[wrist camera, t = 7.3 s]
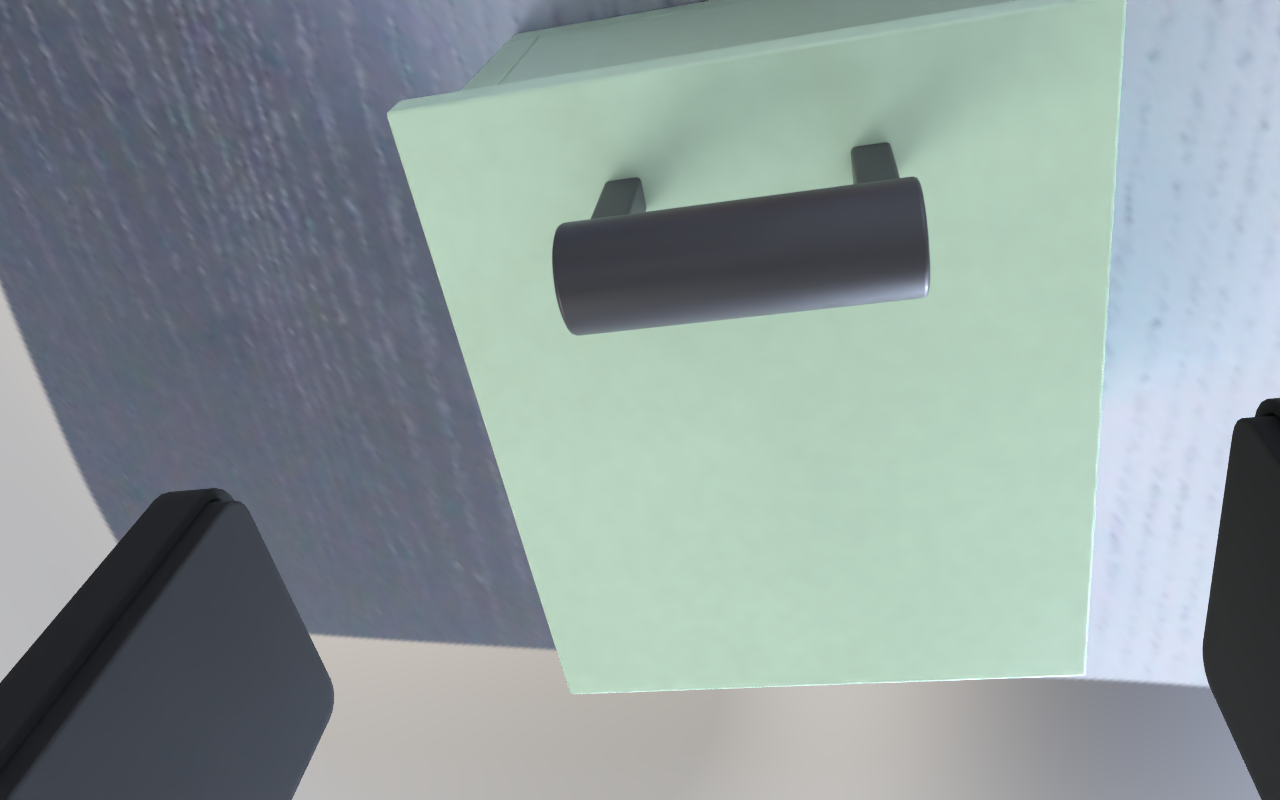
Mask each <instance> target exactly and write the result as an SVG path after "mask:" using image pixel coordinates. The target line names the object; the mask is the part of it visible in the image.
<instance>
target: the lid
mask: <svg viewBox="0 0 1280 800" xmlns="http://www.w3.org/2000/svg"><path fill="white" fill-rule="evenodd" d="M1126 3H1127V0H1017V1H1010V2H1004V3H998V4H992V5H986V6H980V7H973V8H967V9H961V10H955V11H949V12H943V13H937V14H930V15H924V16H918V17H912V18H906V19H900V20H894V21H887V22H881V23H875V24H869V25H863V26H857V27H851V28H844V29H838V30H832V31H826V32H820V33H814V34H808V35H801V36H795V37H789V38H783V39H777V40H771V41H764V42H758V43H752V44H746V45H740V46H734V47H728V48H721V49H715V50H709V51H703V52H697V53H691V54H685V55H678V56H672V57H666V58H660V59H654V60H648V61H642V62H635V63H629V64H623V65H617V66H611V67H605V68H599V69H592V70H586V71H580V72H574V73H568V74H562V75H555V76H549V77H543V78H537V79H531V80H525V81H519V82H512V83H506V84H500V85H494V86H488V87H482V88H476V89H469V90H463V91H457V92H451V93H445V94H439V95H433V96H426V97H420V98H414V99H408V100H402V101H400V102H398V103H397V104H396V105H395V106H394V107H393V108H392V109H390V110H389V111H388V112H387V117H388V120H389V123H390V127H391V130H392V133H393V136H394V139H395V142H396V145H397V149H398V152H399V155H400V158H401V161H402V164H403V168H404V171H405V174H406V177H407V180H408V183H409V186H410V190H411V193H412V196H413V199H414V202H415V205H416V209H417V212H418V215H419V218H420V221H421V224H422V227H423V231H424V234H425V237H426V240H427V243H428V246H429V250H430V253H431V256H432V259H433V262H434V265H435V268H436V272H437V275H438V278H439V281H440V284H441V287H442V291H443V294H444V297H445V300H446V303H447V306H448V309H449V313H450V316H451V319H452V322H453V325H454V328H455V332H456V335H457V338H458V341H459V344H460V347H461V350H462V354H463V357H464V360H465V363H466V366H467V369H468V373H469V376H470V379H471V382H472V385H473V388H474V391H475V395H476V398H477V401H478V404H479V407H480V410H481V414H482V417H483V420H484V423H485V426H486V429H487V432H488V436H489V439H490V442H491V445H492V448H493V451H494V455H495V458H496V461H497V464H498V467H499V470H500V473H501V477H502V480H503V483H504V486H505V489H506V492H507V496H508V499H509V502H510V505H511V508H512V511H513V514H514V518H515V521H516V524H517V527H518V530H519V533H520V537H521V540H522V543H523V546H524V549H525V552H526V555H527V559H528V562H529V565H530V568H531V571H532V574H533V578H534V581H535V584H536V587H537V590H538V593H539V596H540V600H541V603H542V606H543V609H544V612H545V615H546V619H547V622H548V625H549V628H550V631H551V634H552V637H553V641H554V644H555V647H556V650H557V653H558V656H559V660H560V663H561V666H562V669H563V672H564V675H565V678H566V682H567V685H568V688H569V691H570V693H571V694H592V693H615V692H616V693H618V692H643V691H645V692H646V691H672V690H673V691H674V690H700V689H726V688H754V687H755V688H756V687H781V686H782V687H783V686H809V685H836V684H864V683H892V682H918V681H919V682H920V681H946V680H972V679H973V680H974V679H1002V678H1029V677H1056V676H1083V675H1085V671H1086V654H1087V638H1088V622H1089V606H1090V589H1091V573H1092V557H1093V540H1094V524H1095V508H1096V492H1097V475H1098V459H1099V443H1100V426H1101V410H1102V394H1103V377H1104V361H1105V345H1106V329H1107V312H1108V296H1109V280H1110V263H1111V247H1112V231H1113V215H1114V198H1115V182H1116V166H1117V149H1118V133H1119V117H1120V100H1121V84H1122V68H1123V52H1124V35H1125V19H1126Z"/></svg>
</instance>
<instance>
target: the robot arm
mask: <svg viewBox="0 0 1280 800" xmlns="http://www.w3.org/2000/svg"><path fill="white" fill-rule="evenodd" d="M1203 662H1204V667H1205V672H1206V676H1207V680H1208V683H1209V685H1210V688H1211V690H1212V693H1213V695H1214V697H1215V699H1216V701H1217V703H1218V706H1219V708H1220V710H1221V712H1222V714H1223V716H1224V719H1225V721H1226V723H1227V725H1228V727H1229V730H1230V732H1231V734H1232V736H1233V738H1234V741H1235V742H1236V745H1237V747H1238V749H1239V751H1240V754H1241V756H1242V758H1243V760H1244V762H1245V764H1246V767H1247V769H1248V771H1249V773H1250V775H1251V777H1252V779H1253V782H1254V784H1255V786H1256V788H1257V791H1258V793H1259V795H1260V797H1261V799H1262V800H1280V398H1274V399H1266V400H1265V401H1263V402H1261V404H1260V406H1259V407H1258V409H1257V411H1256V415H1255V417H1252V418H1242V419H1240V420H1238V421H1237V423H1236V425H1235V426H1234V431H1233V435H1232V442H1231V449H1230V456H1229V463H1228V470H1227V477H1226V484H1225V491H1224V498H1223V505H1222V512H1221V519H1220V526H1219V534H1218V541H1217V548H1216V555H1215V562H1214V569H1213V576H1212V583H1211V590H1210V597H1209V604H1208V611H1207V618H1206V625H1205V632H1204V639H1203ZM333 704H334V691H333V685H332V682H331V679H330V677H329V675H328V673H327V671H326V669H325V667H324V665H323V663H322V660H321V658H320V656H319V654H318V652H317V650H316V648H315V646H314V644H313V642H312V640H311V638H310V636H309V634H308V632H307V629H306V627H305V625H304V623H303V621H302V619H301V617H300V615H299V613H298V611H297V609H296V607H295V605H294V603H293V601H292V599H291V597H290V594H289V592H288V590H287V588H286V586H285V584H284V582H283V580H282V578H281V576H280V574H279V572H278V570H277V568H276V566H275V564H274V561H273V559H272V557H271V555H270V553H269V551H268V549H267V547H266V545H265V543H264V541H263V539H262V537H261V535H260V533H259V531H258V529H257V526H256V524H255V522H254V520H253V518H252V516H251V514H250V512H249V511H248V509H247V508H246V506H245V505H244V504H242V503H241V502H239V501H234V500H233V498H232V497H231V495H229V494H228V493H227V492H226V491H224V490H222V489H217V488H211V489H200V490H188V491H176V492H168V493H165V494H161V495H160V496H159V497H158V498H157V499H155V500H154V501H153V503H152V504H151V505H150V506H149V507H148V508H147V510H146V511H145V512H144V513H143V514H142V516H141V517H140V518H139V519H138V520H137V521H136V523H135V524H134V525H133V526H132V527H131V529H130V530H129V531H128V532H127V533H126V535H125V536H124V537H123V538H122V539H121V540H120V542H119V543H118V544H117V545H116V546H115V548H114V549H113V550H112V551H111V552H110V553H109V555H108V556H107V557H106V558H105V559H104V561H103V562H102V563H101V564H100V565H99V567H98V568H97V569H96V570H95V571H94V573H93V574H92V575H91V576H90V577H89V578H88V580H87V581H86V582H85V583H84V584H83V585H82V587H81V588H80V589H79V590H78V591H77V593H76V594H75V595H74V596H73V597H72V599H71V600H70V601H69V602H68V603H67V605H66V606H65V607H64V608H63V609H62V610H61V612H60V613H59V614H58V615H57V616H56V618H55V619H54V620H53V621H52V622H51V623H50V625H49V626H48V627H47V628H46V629H45V631H44V632H43V633H42V634H41V635H40V636H39V638H38V639H37V640H36V641H35V643H34V644H33V645H32V646H31V647H30V648H29V650H28V651H27V652H26V653H25V654H24V656H23V657H22V658H21V659H20V660H19V661H18V663H17V664H16V665H15V666H14V667H13V668H12V670H11V671H10V672H9V673H8V675H7V676H6V677H5V678H4V679H3V680H2V682H1V683H0V800H292V798H293V796H294V793H295V792H296V789H297V787H298V785H299V783H300V781H301V778H302V776H303V775H304V772H305V770H306V768H307V766H308V764H309V762H310V760H311V757H312V755H313V753H314V751H315V749H316V747H317V745H318V743H319V740H320V738H321V736H322V734H323V732H324V730H325V728H326V726H327V723H328V721H329V719H330V716H331V713H332V710H333Z"/></svg>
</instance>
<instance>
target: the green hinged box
mask: <svg viewBox="0 0 1280 800" xmlns="http://www.w3.org/2000/svg"><path fill="white" fill-rule="evenodd" d="M1010 1H1017V0H709V1H703V2H698V3H692V4H686V5H680V6H675V7H669V8H663V9H657V10H651V11H646V12H640V13H634V14H628V15H622V16H617V17H611V18H605V19H599V20H593V21H588V22H582V23H576V24H570V25H564V26H559V27H553V28H547V29H541V30H535V31H530V32H524V33H518V34H515V35H513V36H512V37H511V39H510V40H509V41H508V42H506V43H505V44H504V45H503V46H502V47H501V48H500V49H499V51H498V52H497V53H496V54H495V55H494V56H493V57H492V58H491V59H490V60H489V61H488V62H487V63H486V64H485V65H484V66H483V67H482V68H481V69H480V71H479V72H478V73H477V74H476V75H475V76H474V77H473V78H472V79H471V80H470V81H469V82H468V83H467V84H466V85H465V86H464V87H463V88H462V89H461V91H463V90H469V89H476V88H482V87H488V86H494V85H500V84H506V83H512V82H519V81H525V80H531V79H537V78H543V77H549V76H555V75H562V74H568V73H574V72H580V71H586V70H592V69H599V68H605V67H611V66H617V65H623V64H629V63H635V62H642V61H648V60H654V59H660V58H666V57H672V56H678V55H685V54H691V53H697V52H703V51H709V50H715V49H721V48H728V47H734V46H740V45H746V44H752V43H758V42H764V41H771V40H777V39H783V38H789V37H795V36H801V35H808V34H814V33H820V32H826V31H832V30H838V29H844V28H851V27H857V26H863V25H869V24H875V23H881V22H887V21H894V20H900V19H906V18H912V17H918V16H924V15H930V14H937V13H943V12H949V11H955V10H961V9H967V8H973V7H980V6H986V5H992V4H998V3H1004V2H1010Z"/></svg>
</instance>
